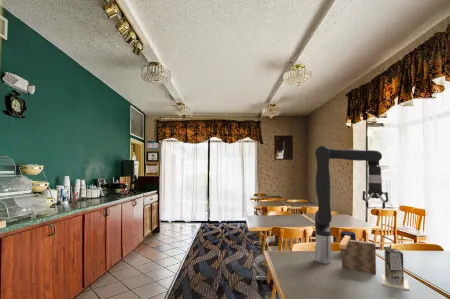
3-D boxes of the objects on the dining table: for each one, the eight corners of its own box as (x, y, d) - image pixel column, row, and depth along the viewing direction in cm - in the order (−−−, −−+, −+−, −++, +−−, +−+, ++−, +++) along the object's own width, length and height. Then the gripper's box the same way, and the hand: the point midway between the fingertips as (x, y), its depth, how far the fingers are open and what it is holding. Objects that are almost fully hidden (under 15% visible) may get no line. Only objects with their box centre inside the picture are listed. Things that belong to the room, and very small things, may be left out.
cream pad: (381, 285, 142) (381, 283, 142) (381, 276, 154) (381, 274, 154) (409, 290, 136) (409, 289, 136) (407, 280, 148) (407, 279, 148)
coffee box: (404, 285, 140) (403, 253, 141) (390, 284, 141) (389, 252, 142) (397, 278, 149) (397, 248, 150) (384, 277, 150) (384, 247, 151)
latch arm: (339, 248, 148) (339, 244, 148) (345, 238, 168) (345, 235, 168) (345, 249, 146) (345, 245, 146) (350, 239, 167) (350, 236, 167)
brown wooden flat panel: (342, 268, 165) (341, 239, 166) (342, 266, 167) (342, 238, 169) (375, 274, 156) (375, 244, 157) (376, 272, 158) (375, 243, 159)
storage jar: (355, 253, 195) (355, 232, 196) (356, 257, 186) (355, 235, 187) (340, 251, 199) (340, 230, 200) (340, 255, 190) (340, 233, 191)
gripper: (361, 181, 172) (362, 207, 171) (388, 182, 165) (388, 209, 164) (362, 181, 178) (363, 206, 177) (387, 182, 171) (388, 208, 170)
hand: (375, 208), depth 171 cm, fingers open, 8 cm apart
